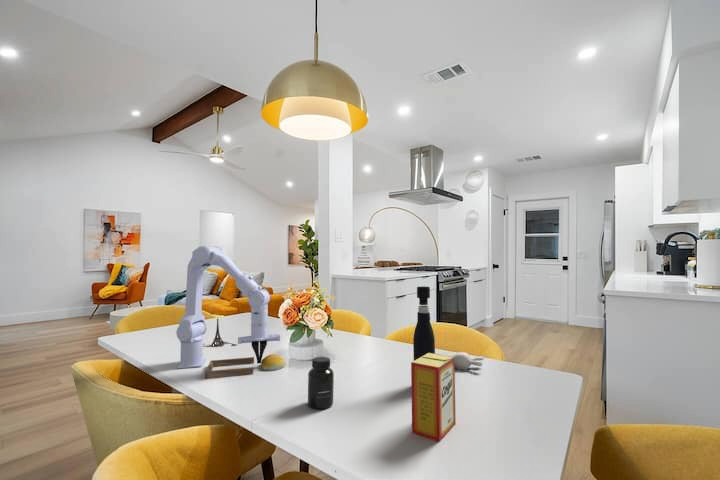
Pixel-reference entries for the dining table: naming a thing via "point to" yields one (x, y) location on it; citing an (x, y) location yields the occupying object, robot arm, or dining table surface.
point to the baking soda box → (433, 395)
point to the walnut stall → (229, 372)
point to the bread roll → (272, 362)
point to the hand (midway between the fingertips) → (259, 362)
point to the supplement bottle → (320, 384)
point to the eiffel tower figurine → (219, 339)
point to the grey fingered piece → (465, 360)
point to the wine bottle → (423, 326)
